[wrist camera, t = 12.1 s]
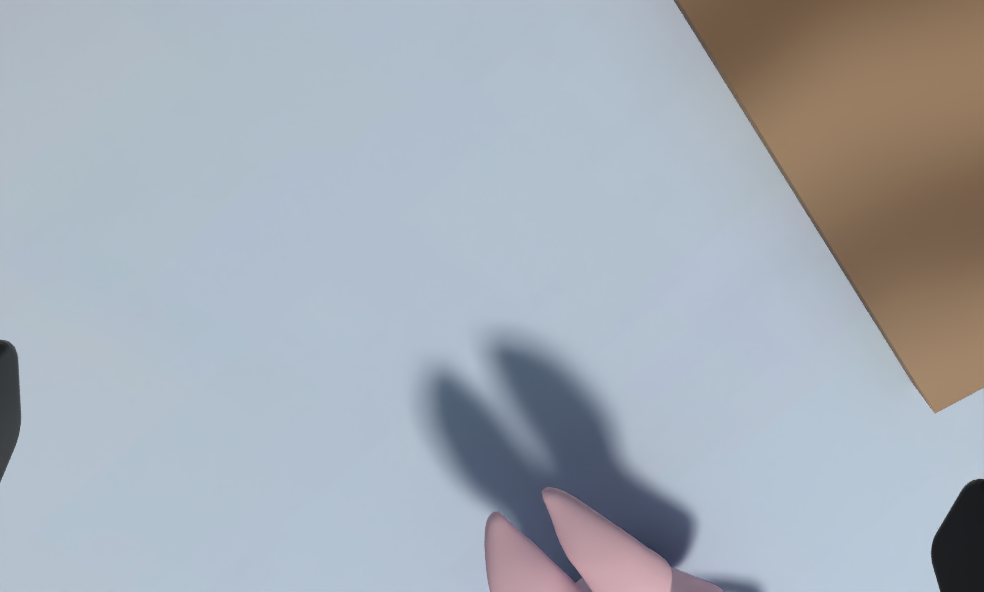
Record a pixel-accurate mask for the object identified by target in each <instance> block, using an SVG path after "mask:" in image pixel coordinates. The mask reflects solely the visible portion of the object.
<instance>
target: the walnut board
mask: <svg viewBox="0 0 984 592" xmlns="http://www.w3.org/2000/svg"><path fill="white" fill-rule="evenodd" d="M674 1H675V3H676V4H677V6H678V8H679V9H680V11H681V12H682V14H683V16H684V17H685V19H686V20H687V22H688V24H689V25H690V27H691V28H692V30H693V32H694V33H695V35H696V36H697V38H698V40H699V41H700V43H701V44H702V46H703V48H704V49H705V51H706V53H707V54H708V56H709V57H710V59H711V61H712V62H713V64H714V65H715V67H716V69H717V70H718V72H719V73H720V75H721V77H722V78H723V80H724V81H725V83H726V85H727V86H728V88H729V89H730V91H731V93H732V94H733V96H734V97H735V99H736V101H737V102H738V104H739V105H740V107H741V109H742V110H743V112H744V114H745V115H746V117H747V118H748V120H749V122H750V123H751V125H752V126H753V128H754V130H755V131H756V133H757V134H758V136H759V138H760V139H761V141H762V142H763V144H764V146H765V147H766V149H767V150H768V152H769V154H770V155H771V157H772V158H773V160H774V162H775V163H776V165H777V166H778V168H779V170H780V171H781V173H782V174H783V176H784V178H785V179H786V181H787V183H788V184H789V186H790V187H791V189H792V191H793V192H794V194H795V195H796V197H797V199H798V200H799V202H800V203H801V205H802V207H803V208H804V210H805V211H806V213H807V215H808V216H809V218H810V219H811V221H812V223H813V224H814V226H815V227H816V229H817V231H818V232H819V234H820V235H821V237H822V239H823V240H824V242H825V244H826V245H827V247H828V248H829V250H830V252H831V253H832V255H833V256H834V258H835V260H836V261H837V263H838V264H839V266H840V268H841V269H842V271H843V272H844V274H845V276H846V277H847V279H848V280H849V282H850V284H851V285H852V287H853V288H854V290H855V292H856V293H857V295H858V296H859V298H860V300H861V301H862V303H863V304H864V306H865V308H866V309H867V311H868V313H869V314H870V316H871V317H872V319H873V321H874V322H875V324H876V325H877V327H878V329H879V330H880V332H881V333H882V335H883V337H884V338H885V340H886V341H887V343H888V345H889V346H890V348H891V349H892V351H893V353H894V354H895V356H896V357H897V359H898V361H899V362H900V364H901V365H902V367H903V369H904V370H905V372H906V374H907V375H908V377H909V378H910V380H911V382H912V383H913V385H914V386H915V387H916V389H917V390H918V391H919V393H920V394H921V395H922V397H923V398H924V400H925V401H926V402H927V404H928V405H929V406H930V408H931V409H932V410H933V412H934V413H937V412H939V411H941V410H943V409H944V408H946V407H948V406H950V405H952V404H954V403H956V402H958V401H959V400H961V399H963V398H965V397H967V396H969V395H971V394H973V393H974V392H976V391H978V390H980V389H982V388H984V0H674Z"/></svg>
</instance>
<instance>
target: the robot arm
mask: <svg viewBox="0 0 984 592" xmlns="http://www.w3.org/2000/svg"><path fill="white" fill-rule="evenodd" d="M20 425H21V405H20V386H19V367H18V355H17V352H16V349H15V347H14V346H13V345H12V344H11V343H10V342H9V341H6V340H0V482H1V479H2V477H3V475H4V472H5V470H6V467H7V465H8V463H9V460H10V458H11V455H12V453H13V451H14V448H15V446H16V443H17V440H18V436H19V431H20ZM931 558H932V564H933V568H934V572H935V575H936V578H937V582H938V585H939V589H940V592H984V479H976V480H972V481H971V482H969V483H968V484H967V485H965V486H964V488H963V489H962V491H961V492H960V494H959V496H958V497H957V499H956V501H955V502H954V504H953V506H952V507H951V509H950V511H949V513H948V514H947V516H946V518H945V519H944V521H943V523H942V524H941V526H940V528H939V529H938V531H937V533H936V535H935V537H934V539H933V543H932V549H931Z"/></svg>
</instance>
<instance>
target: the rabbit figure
mask: <svg viewBox="0 0 984 592" xmlns="http://www.w3.org/2000/svg"><path fill="white" fill-rule="evenodd" d="M542 497H543V500H544V502H545V505H546V507H547V509H548V512H549V514H550V517H551V519H552V522H553V525H554V529H555V531H556V534H557V537H558V539H559V542H560V544H561V546H562V548H563V550H564V552H565V554H566V555H567V557H568V559H569V560H570V562H571V563H572V564H573V566H574V567H575V568H576V569H577V571H578V572H579V573H580V575H581V576H582V578H580V579H579V580H578V581H577V582H576V583H575V582H574V581H573V580H572V579H571V578H570V577H569V576H568V575H567V574H566V573H565V572H564V571H563V570H562V569H561V568H559V567H558V566H557V565H556V564H555V563H554V562H553V561H552V560H551V559H550V558H549V557H548V556H547V555H546V554H545V553H544V552H543V551H542V550H541V549H540V548H539V547H538V546H537V545H536V544H535V543H533V542H532V541H531V540H530V539H529V538H527V537H526V536H525V535H524V534H523V533H521V532H520V531H519V530H518V529H517V528H516V527H515V526H514V525H513V524H512V523H511V522H510V521H509V520H508V519H507V518H506V517H505V516H504V515H502V514H501V513H499V512H493V513H491V514H490V516H489V517H488V519H487V522H486V527H485V560H486V571H487V578H488V584H489V589H490V592H724V591H723V590H722V589H721V588H719V587H718V586H716V585H714V584H712V583H709V582H707V581H704V580H701V579H699V578H696V577H694V576H692V575H689V574H687V573H684V572H682V571H680V570H677V569H675V568H673V567H671V566H670V565H669V564H668V562H667V561H666V560H665V559H664V558H663V557H661V556H660V555H659V554H657V553H656V552H654V551H653V550H651V549H649V548H648V547H646V546H644V545H643V544H642V543H641V542H639V541H638V540H637V539H635V538H634V537H633V536H631V535H630V534H628V533H627V532H625V531H624V530H622V529H621V528H620V527H618V526H616V525H615V524H613V523H612V522H611V521H609V520H608V519H606V518H605V517H603V516H602V515H600V514H599V513H598V512H596V511H595V510H593V509H592V508H591V507H589V506H588V505H586V504H585V503H583V502H582V501H581V500H579V499H577V498H576V497H574V496H572V495H571V494H569V493H567V492H565V491H563V490H561V489H558V488H554V487H545V488H544V489H543V490H542Z"/></svg>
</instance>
